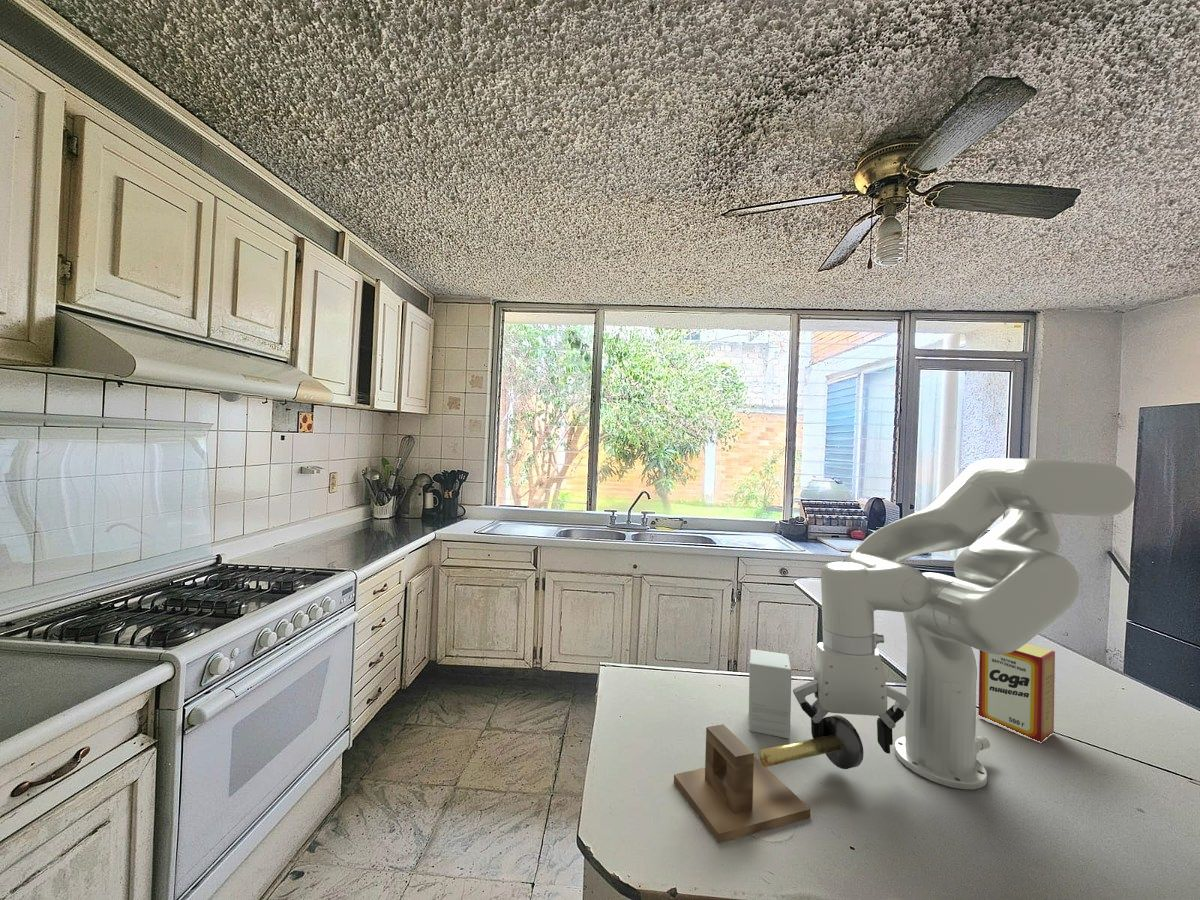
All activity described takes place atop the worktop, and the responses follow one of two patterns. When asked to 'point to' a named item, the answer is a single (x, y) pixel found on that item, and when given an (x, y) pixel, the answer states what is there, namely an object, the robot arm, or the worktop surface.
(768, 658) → the supplement box
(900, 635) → the worktop surface
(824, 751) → the brass peg with disc
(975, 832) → the worktop surface
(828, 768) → the worktop surface
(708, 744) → the eye post
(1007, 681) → the baking soda box
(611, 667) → the worktop surface
